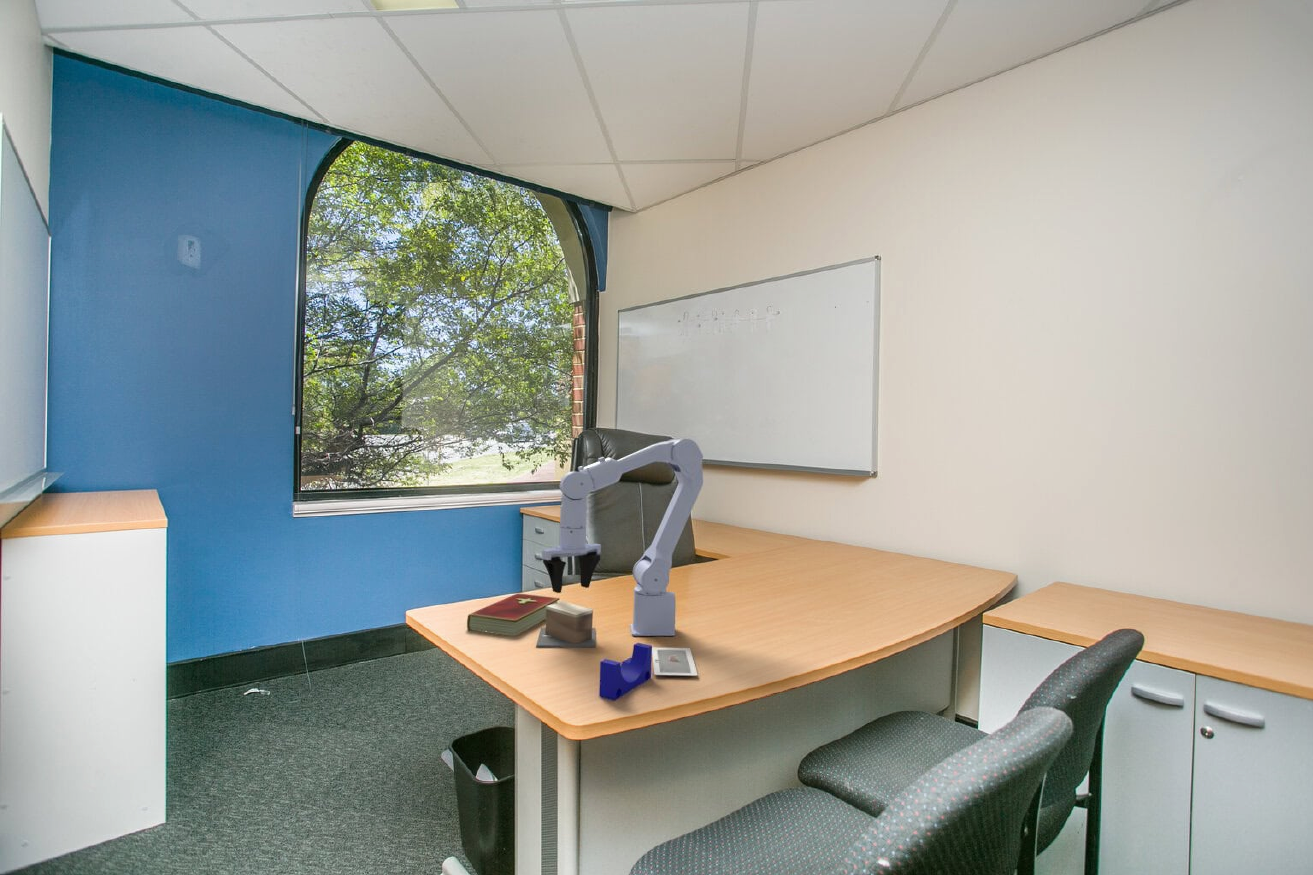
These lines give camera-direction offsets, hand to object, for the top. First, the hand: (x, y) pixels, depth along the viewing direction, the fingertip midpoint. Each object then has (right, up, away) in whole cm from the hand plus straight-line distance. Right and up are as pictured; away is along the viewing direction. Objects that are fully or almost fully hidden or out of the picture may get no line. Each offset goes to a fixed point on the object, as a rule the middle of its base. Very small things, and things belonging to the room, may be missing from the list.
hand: (571, 589), depth 136 cm
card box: (0, -9, -3) cm, 10 cm away
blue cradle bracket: (+13, -11, -27) cm, 32 cm away
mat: (-1, -10, -2) cm, 10 cm away
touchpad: (+22, -11, -16) cm, 29 cm away
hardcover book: (-14, -10, +9) cm, 20 cm away
